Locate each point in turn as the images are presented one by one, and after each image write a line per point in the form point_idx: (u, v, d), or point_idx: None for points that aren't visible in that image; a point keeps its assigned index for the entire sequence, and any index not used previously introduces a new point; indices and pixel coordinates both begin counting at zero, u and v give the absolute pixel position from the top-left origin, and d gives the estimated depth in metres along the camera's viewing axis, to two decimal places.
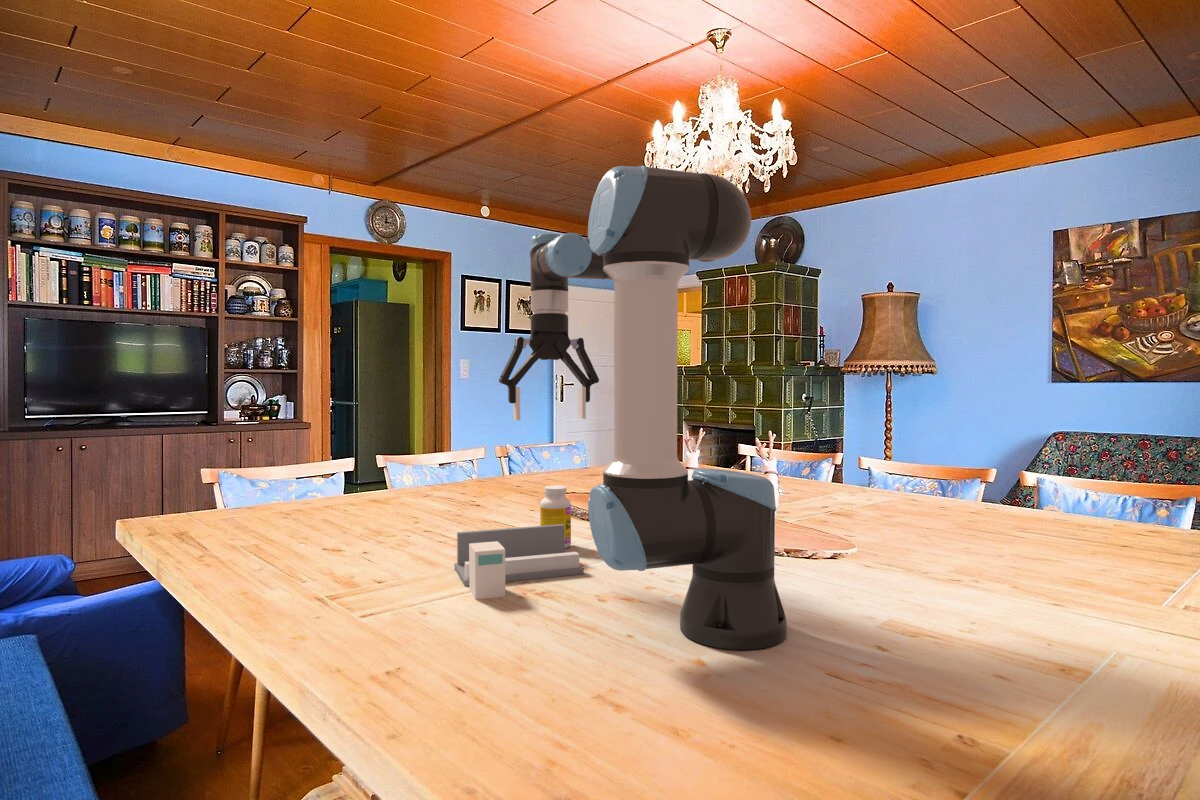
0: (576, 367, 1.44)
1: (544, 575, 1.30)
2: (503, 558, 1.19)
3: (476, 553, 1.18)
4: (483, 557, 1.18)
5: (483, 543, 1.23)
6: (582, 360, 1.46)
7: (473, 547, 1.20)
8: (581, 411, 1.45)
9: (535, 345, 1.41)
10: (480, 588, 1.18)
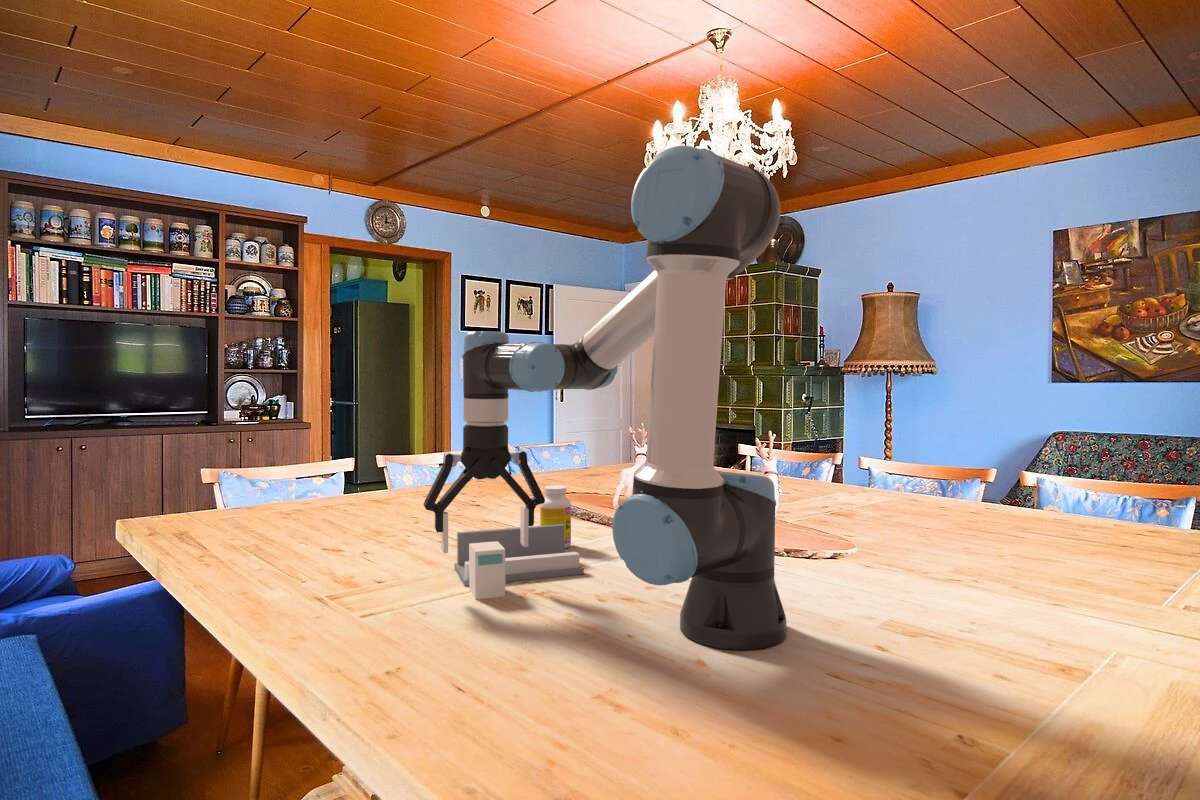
0: (517, 486, 1.22)
1: (544, 575, 1.30)
2: (503, 558, 1.19)
3: (476, 553, 1.18)
4: (483, 557, 1.18)
5: (483, 543, 1.23)
6: (525, 477, 1.23)
7: (473, 547, 1.20)
8: (523, 537, 1.23)
9: (467, 463, 1.19)
10: (480, 587, 1.18)
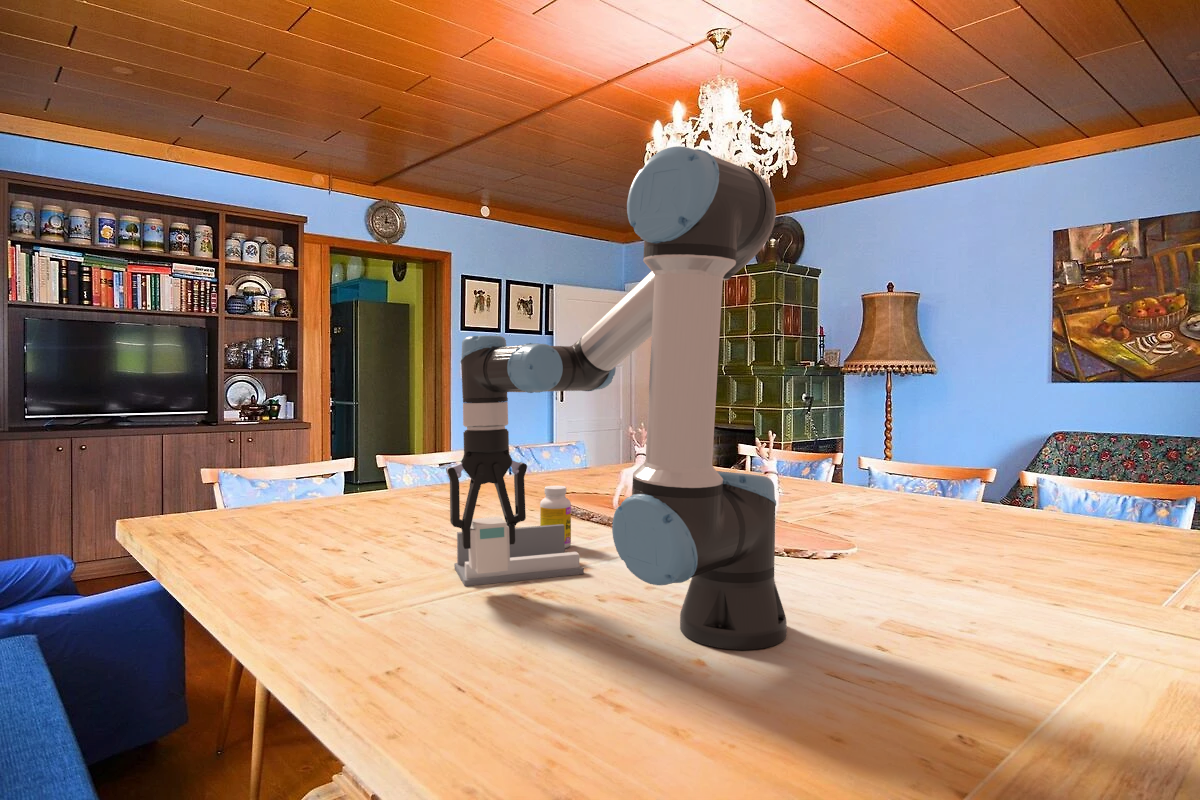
0: (506, 499, 1.20)
1: (544, 575, 1.30)
2: (505, 531, 1.19)
3: (477, 526, 1.17)
4: (484, 530, 1.17)
5: (484, 518, 1.23)
6: (516, 489, 1.22)
7: (474, 521, 1.20)
8: None
9: (470, 468, 1.18)
10: (483, 561, 1.17)
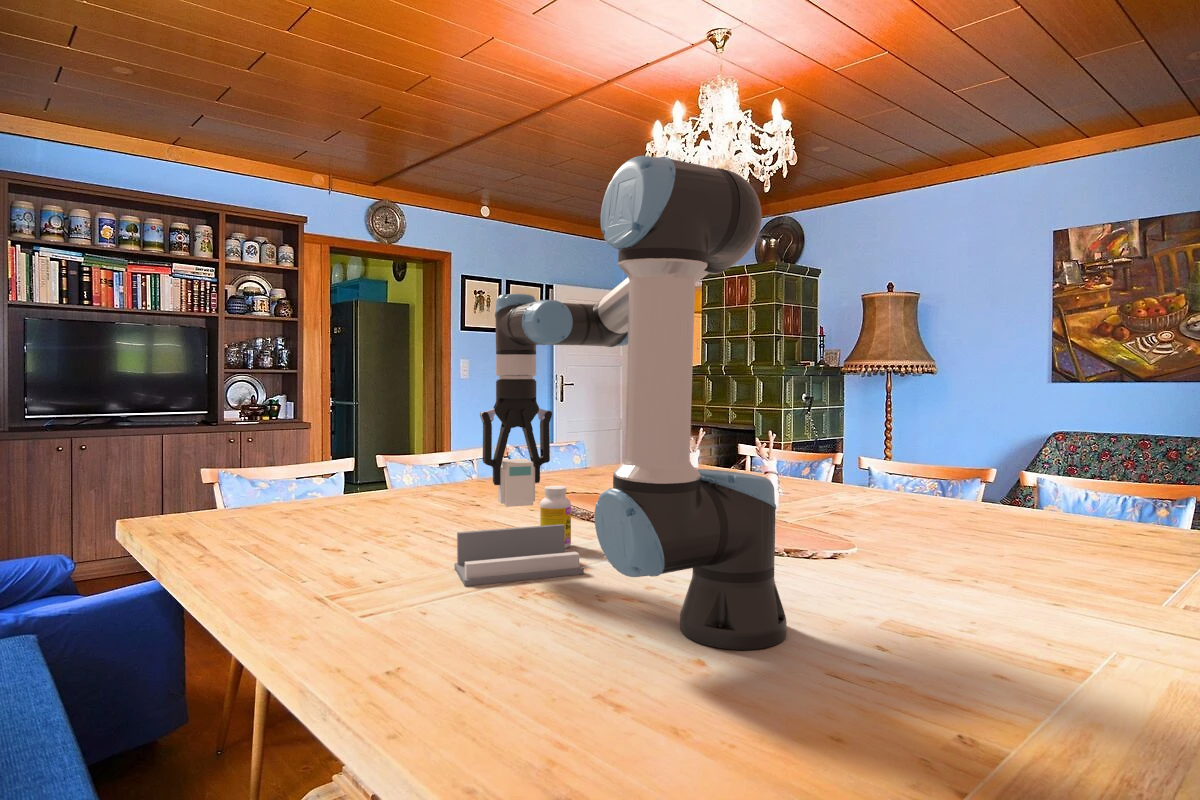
0: (533, 442, 1.34)
1: (544, 575, 1.30)
2: (531, 470, 1.33)
3: (507, 465, 1.31)
4: (513, 468, 1.31)
5: (512, 459, 1.37)
6: (541, 434, 1.36)
7: (504, 461, 1.34)
8: None
9: (502, 413, 1.32)
10: (511, 496, 1.31)
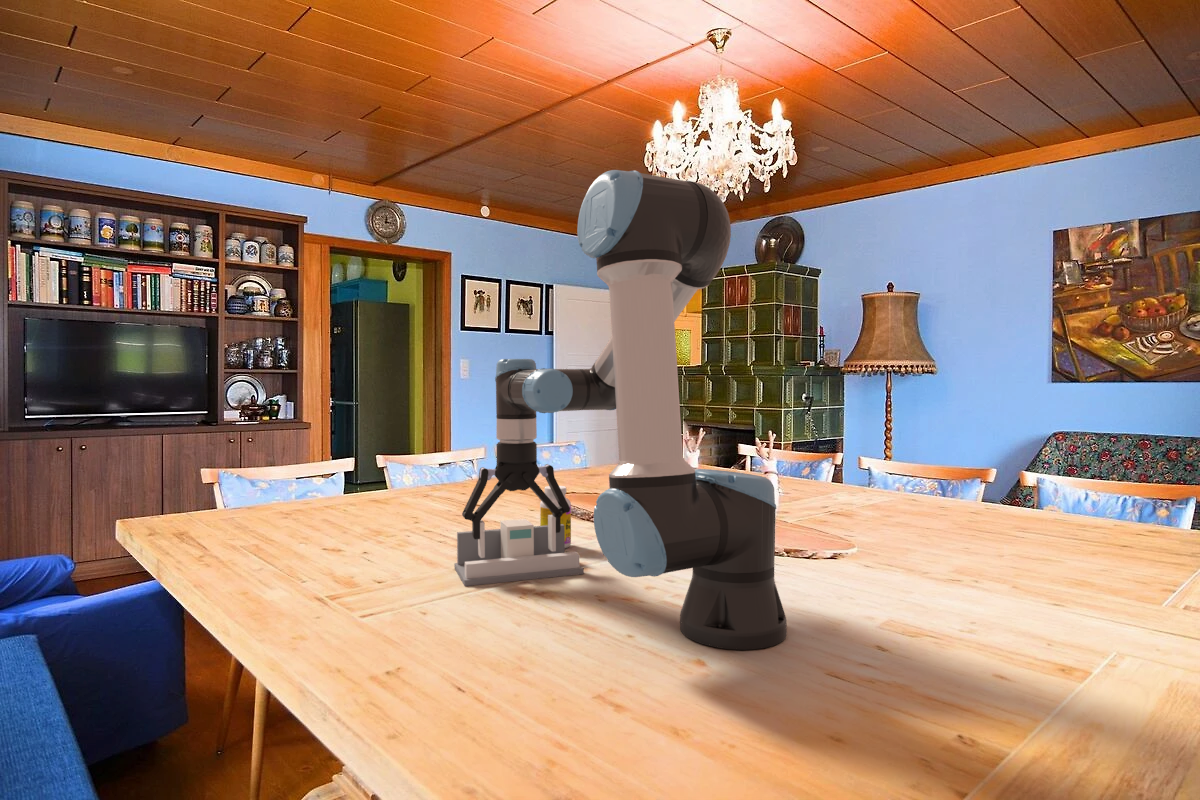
0: (545, 497, 1.35)
1: (544, 575, 1.30)
2: (532, 533, 1.33)
3: (508, 528, 1.31)
4: (514, 531, 1.32)
5: (513, 520, 1.37)
6: (552, 488, 1.37)
7: (504, 523, 1.34)
8: (551, 542, 1.36)
9: (501, 476, 1.32)
10: None
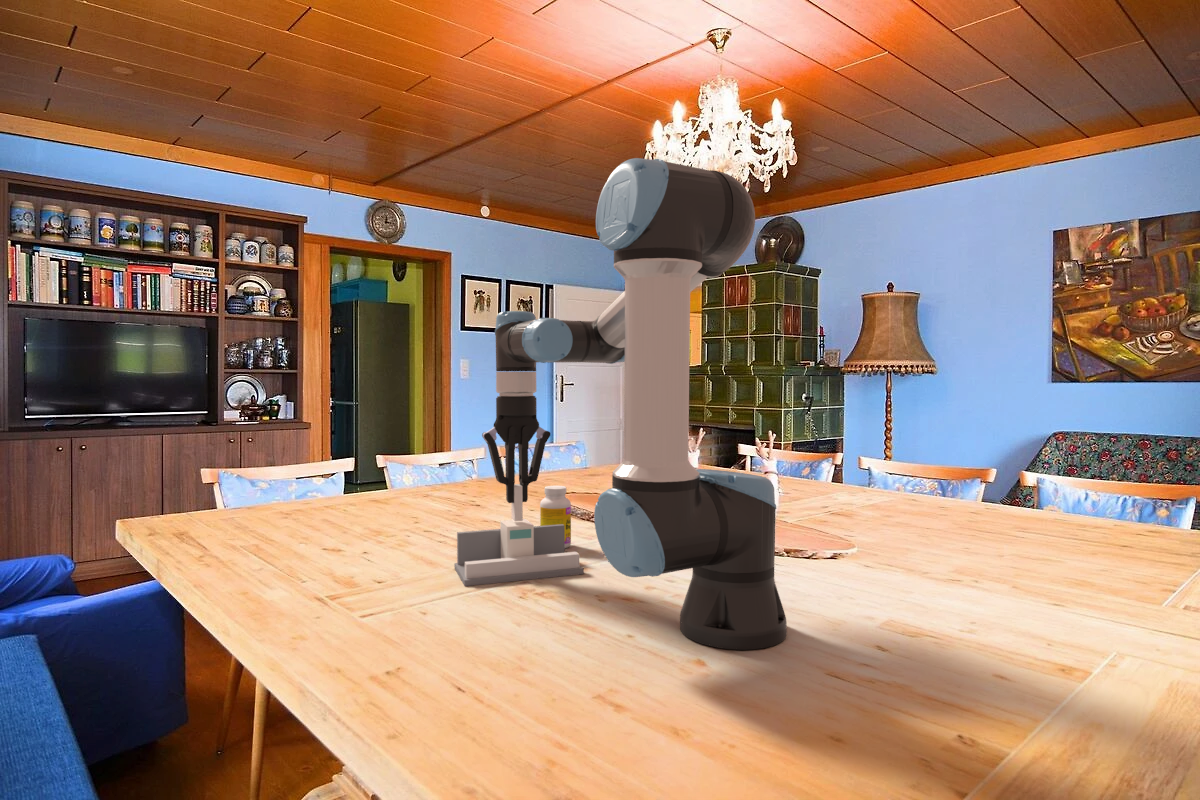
0: (526, 460, 1.34)
1: (544, 575, 1.30)
2: (532, 533, 1.33)
3: (508, 528, 1.31)
4: (514, 531, 1.32)
5: (513, 520, 1.37)
6: (535, 452, 1.35)
7: (504, 523, 1.34)
8: None
9: (503, 429, 1.32)
10: None
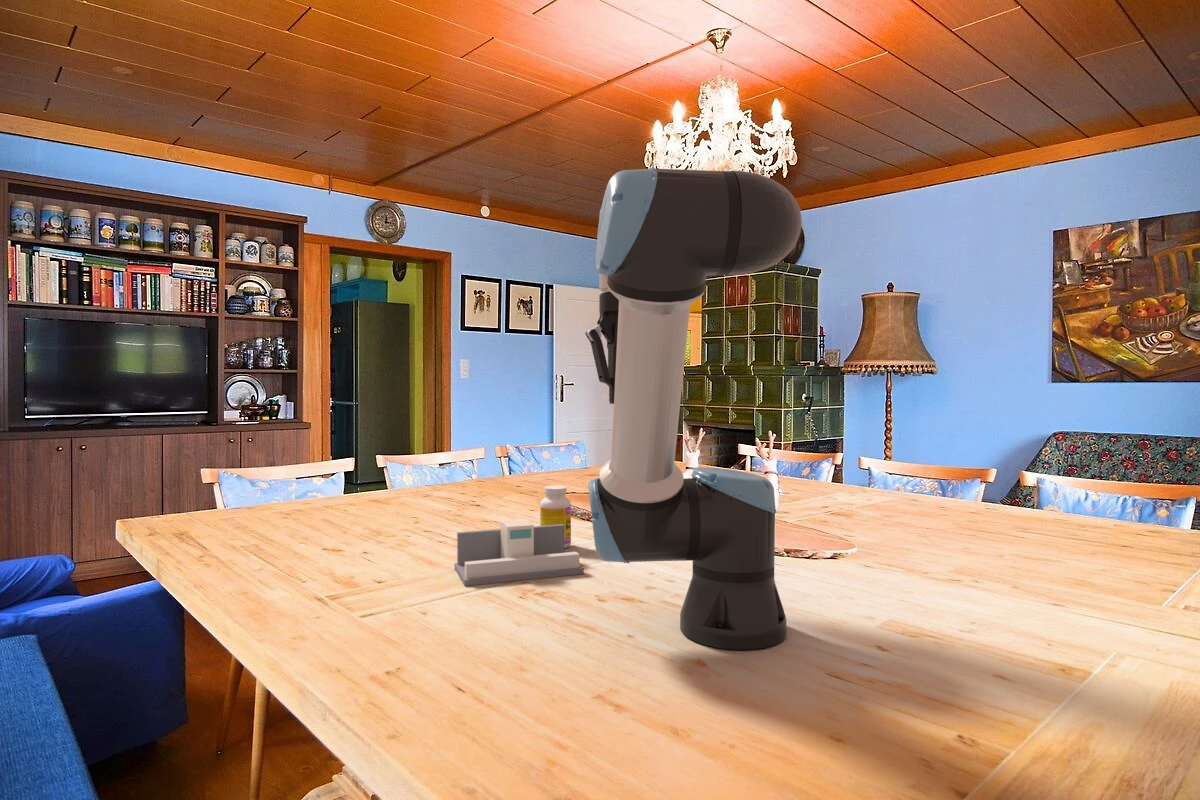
0: None
1: (544, 575, 1.30)
2: (532, 533, 1.33)
3: (508, 528, 1.31)
4: (514, 531, 1.32)
5: (513, 520, 1.37)
6: None
7: (504, 523, 1.34)
8: None
9: (608, 326, 1.28)
10: None
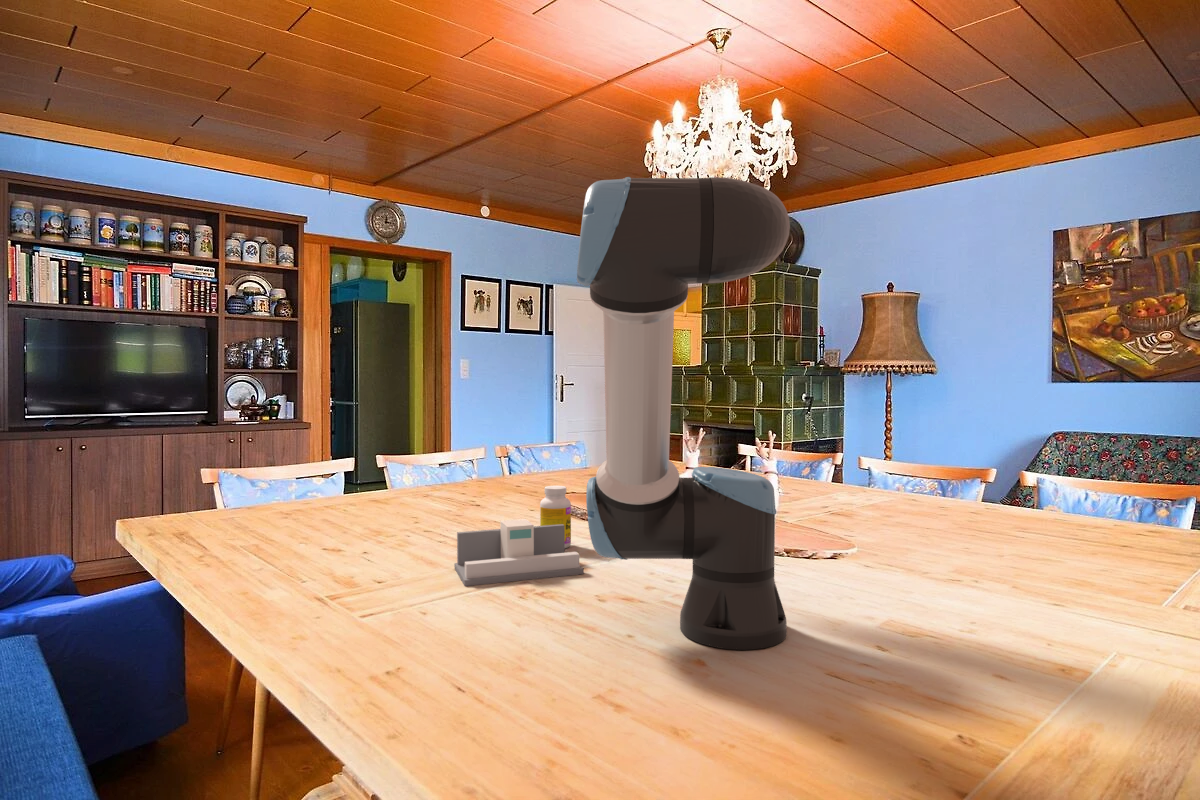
0: None
1: (544, 575, 1.30)
2: (532, 533, 1.33)
3: (508, 528, 1.31)
4: (514, 531, 1.32)
5: (513, 520, 1.37)
6: None
7: (504, 523, 1.34)
8: None
9: None
10: None
